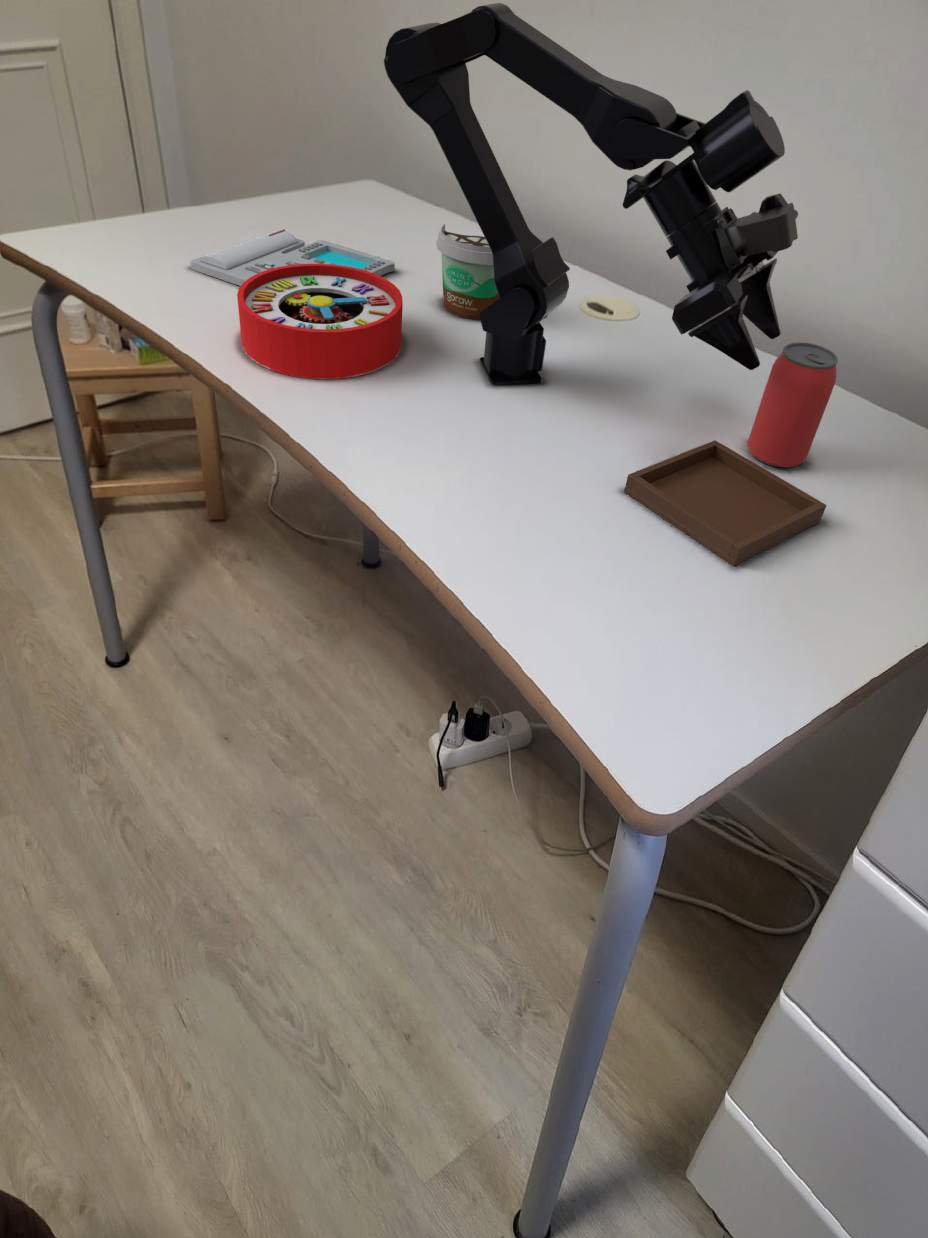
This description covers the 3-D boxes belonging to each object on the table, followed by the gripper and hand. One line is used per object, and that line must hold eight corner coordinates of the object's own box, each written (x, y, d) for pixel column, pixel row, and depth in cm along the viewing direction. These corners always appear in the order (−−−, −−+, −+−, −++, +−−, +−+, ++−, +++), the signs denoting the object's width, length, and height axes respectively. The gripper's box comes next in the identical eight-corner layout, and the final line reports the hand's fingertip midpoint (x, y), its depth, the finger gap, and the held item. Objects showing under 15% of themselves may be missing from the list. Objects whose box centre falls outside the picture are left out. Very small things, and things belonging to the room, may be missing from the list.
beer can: (773, 475, 96) (810, 372, 88) (733, 445, 100) (765, 344, 92) (817, 463, 98) (857, 362, 90) (776, 435, 102) (811, 336, 94)
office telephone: (186, 251, 125) (281, 218, 138) (189, 270, 127) (282, 235, 140) (314, 294, 116) (402, 254, 129) (315, 313, 118) (402, 272, 131)
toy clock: (225, 267, 111) (378, 259, 117) (230, 312, 115) (377, 302, 121) (252, 338, 98) (423, 324, 104) (256, 386, 102) (421, 370, 108)
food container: (419, 311, 121) (422, 235, 115) (436, 296, 126) (440, 222, 119) (502, 331, 118) (510, 255, 112) (517, 315, 123) (526, 241, 116)
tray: (623, 491, 91) (627, 474, 90) (710, 456, 98) (715, 439, 96) (733, 566, 83) (740, 548, 81) (819, 522, 89) (827, 504, 88)
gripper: (737, 192, 77) (821, 345, 81) (785, 150, 90) (855, 284, 94) (635, 262, 85) (716, 399, 89) (692, 215, 98) (761, 336, 102)
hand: (766, 351), depth 93 cm, fingers open, 9 cm apart
